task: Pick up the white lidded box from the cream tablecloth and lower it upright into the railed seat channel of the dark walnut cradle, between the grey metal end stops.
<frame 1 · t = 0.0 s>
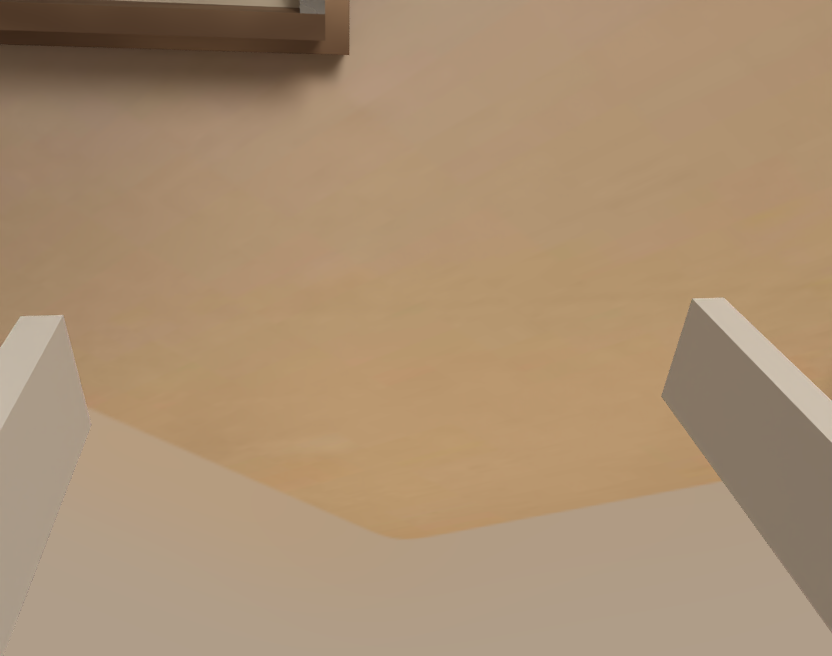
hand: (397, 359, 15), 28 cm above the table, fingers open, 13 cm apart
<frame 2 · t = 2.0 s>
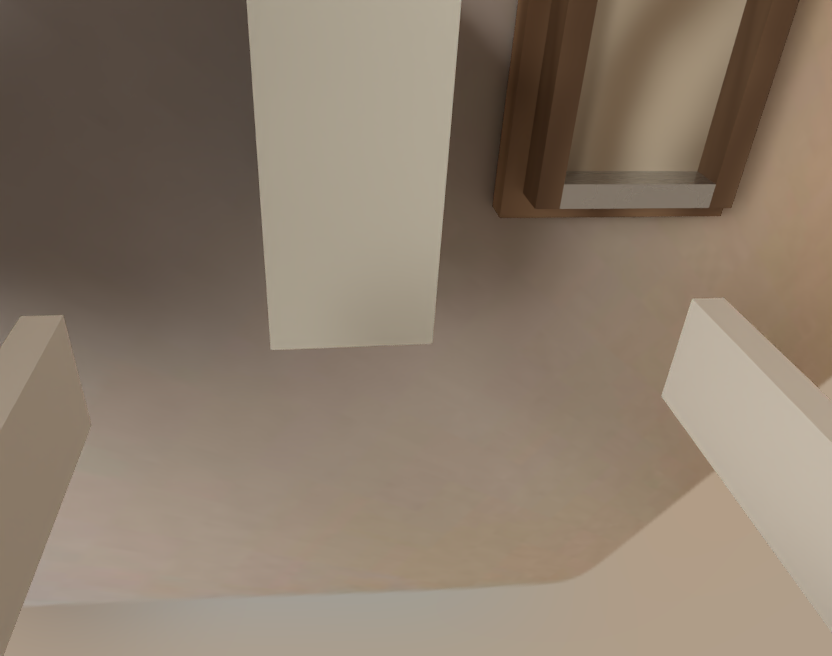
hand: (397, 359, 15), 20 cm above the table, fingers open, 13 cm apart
white lidded box: (335, 103, 31), on the table
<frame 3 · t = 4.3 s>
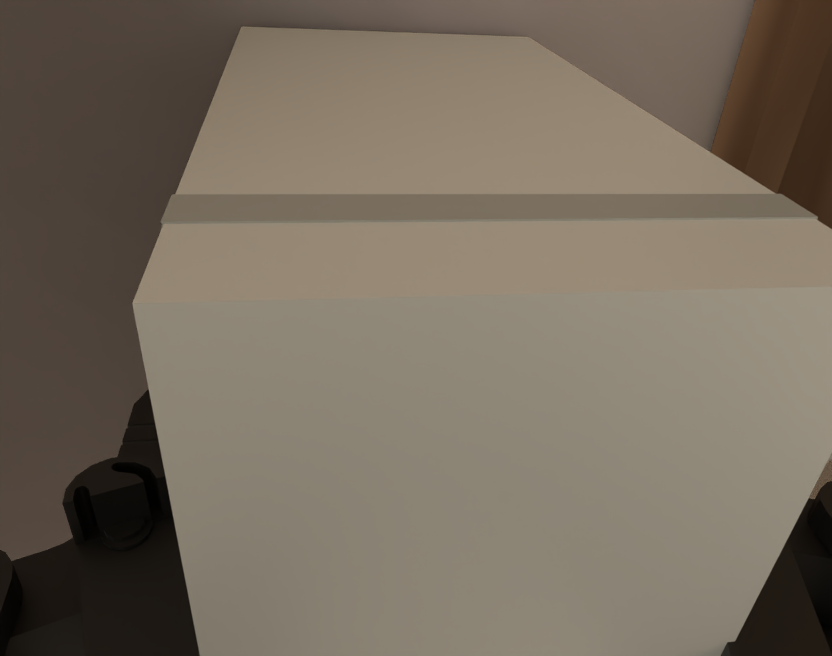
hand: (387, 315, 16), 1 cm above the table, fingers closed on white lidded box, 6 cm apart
white lidded box: (381, 285, 17), on the table, touching gripper
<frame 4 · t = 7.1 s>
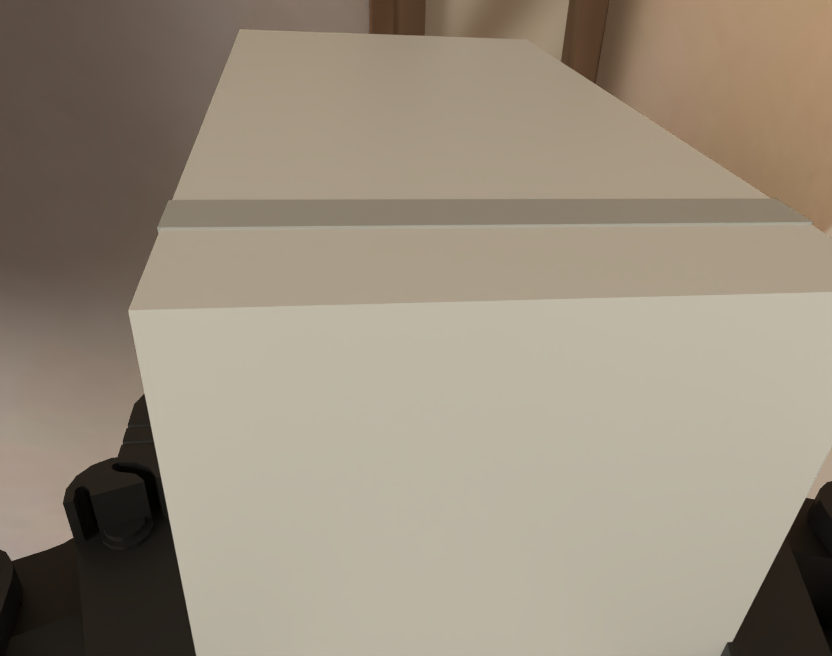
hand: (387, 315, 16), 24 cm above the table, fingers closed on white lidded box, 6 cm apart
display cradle: (486, 2, 35), on the table
white lidded box: (379, 286, 17), point 22 cm above the table, touching gripper
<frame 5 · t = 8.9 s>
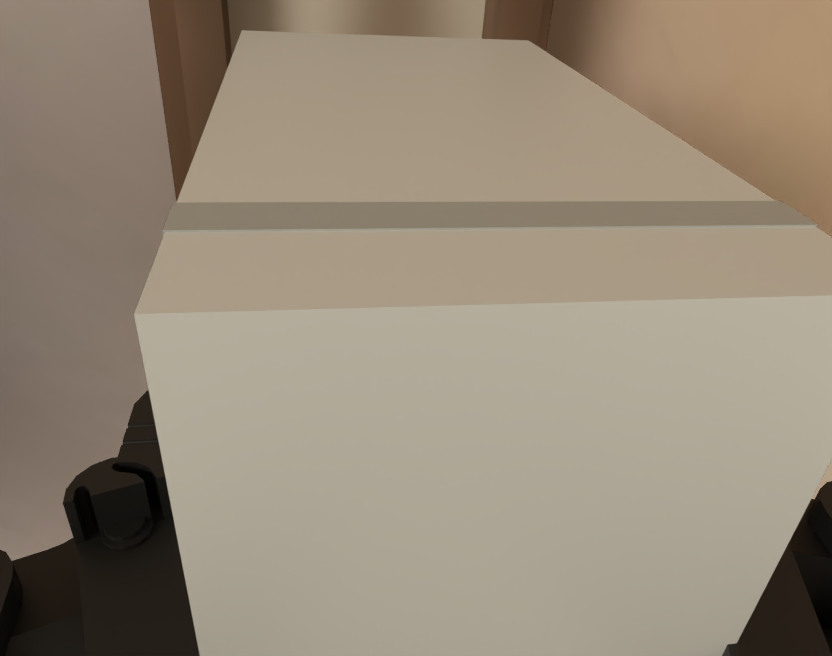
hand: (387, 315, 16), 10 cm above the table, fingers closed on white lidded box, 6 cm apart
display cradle: (353, 168, 25), on the table
white lidded box: (381, 287, 17), point 9 cm above the table, touching gripper
when the fingers open (5 cm above the table, at t = 10.3 s): white lidded box drops 2 cm, resting on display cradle.
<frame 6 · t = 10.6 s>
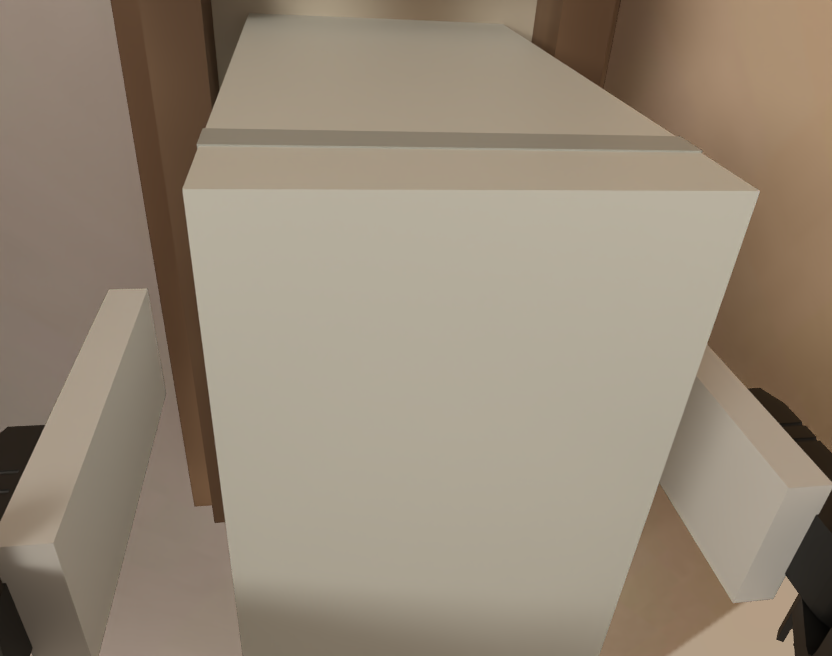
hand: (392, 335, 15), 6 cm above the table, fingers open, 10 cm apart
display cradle: (367, 222, 21), on the table
white lidded box: (372, 249, 19), point 2 cm above the table, touching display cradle
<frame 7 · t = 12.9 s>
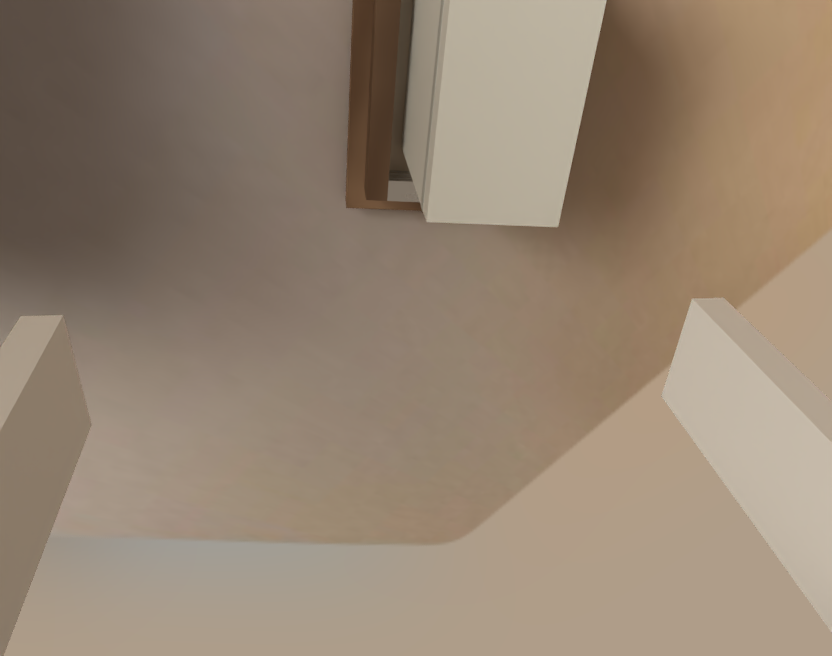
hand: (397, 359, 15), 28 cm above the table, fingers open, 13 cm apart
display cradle: (460, 31, 38), on the table
white lidded box: (465, 38, 36), point 2 cm above the table, touching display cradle
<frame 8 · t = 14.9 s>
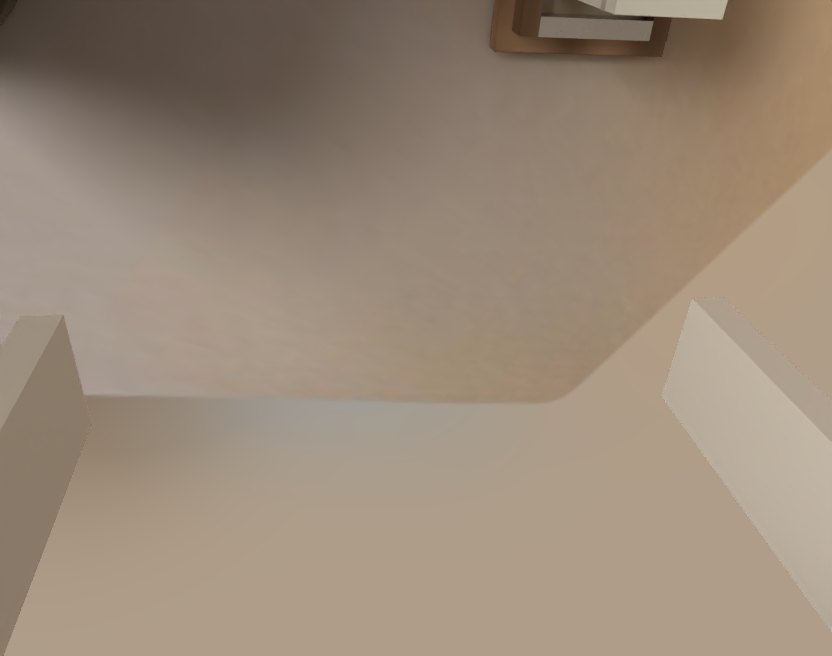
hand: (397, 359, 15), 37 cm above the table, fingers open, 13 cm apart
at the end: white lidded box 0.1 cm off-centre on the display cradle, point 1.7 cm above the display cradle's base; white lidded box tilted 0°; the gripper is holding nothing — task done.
